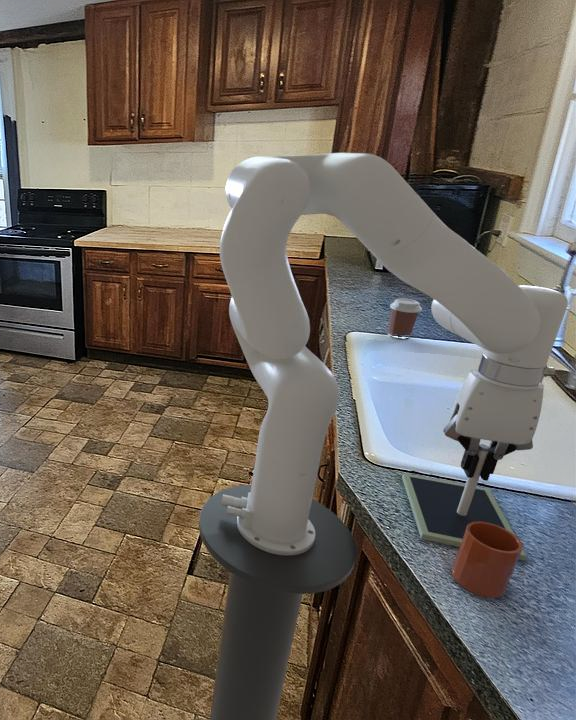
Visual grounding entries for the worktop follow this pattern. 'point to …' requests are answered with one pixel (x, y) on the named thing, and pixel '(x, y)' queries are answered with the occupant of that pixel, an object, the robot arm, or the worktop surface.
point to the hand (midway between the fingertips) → (474, 473)
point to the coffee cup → (403, 316)
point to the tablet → (449, 509)
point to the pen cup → (486, 559)
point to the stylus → (472, 482)
